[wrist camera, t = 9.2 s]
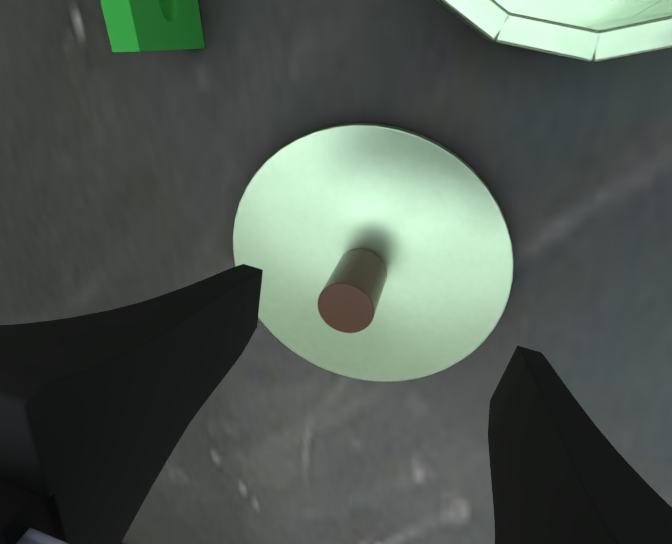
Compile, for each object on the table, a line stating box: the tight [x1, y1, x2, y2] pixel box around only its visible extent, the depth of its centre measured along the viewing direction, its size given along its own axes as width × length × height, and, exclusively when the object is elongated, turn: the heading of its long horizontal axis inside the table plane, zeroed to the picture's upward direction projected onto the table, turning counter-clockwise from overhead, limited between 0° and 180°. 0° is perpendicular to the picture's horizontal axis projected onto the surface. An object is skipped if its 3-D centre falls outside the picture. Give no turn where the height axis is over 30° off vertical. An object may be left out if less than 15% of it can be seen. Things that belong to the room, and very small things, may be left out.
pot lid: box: [233, 123, 514, 382], centre depth 20 cm, size 13×13×4 cm
